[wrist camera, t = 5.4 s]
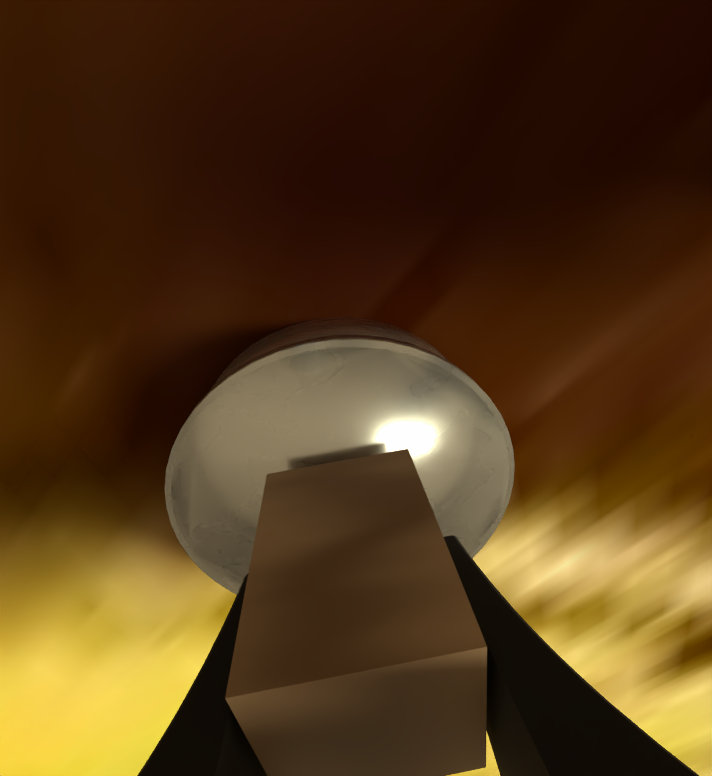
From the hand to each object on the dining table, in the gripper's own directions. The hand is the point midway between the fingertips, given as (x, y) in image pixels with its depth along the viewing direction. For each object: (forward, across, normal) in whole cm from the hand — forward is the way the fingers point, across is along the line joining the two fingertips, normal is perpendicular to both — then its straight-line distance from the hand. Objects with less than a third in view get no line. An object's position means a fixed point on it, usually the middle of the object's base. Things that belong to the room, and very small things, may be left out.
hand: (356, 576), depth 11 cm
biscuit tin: (+6, 0, 0) cm, 6 cm away
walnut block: (+2, 0, 0) cm, 2 cm away
